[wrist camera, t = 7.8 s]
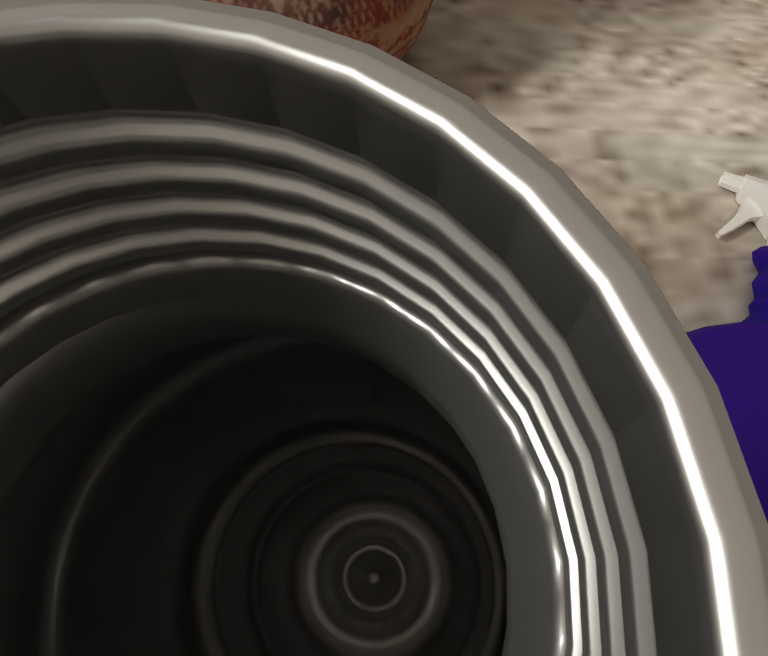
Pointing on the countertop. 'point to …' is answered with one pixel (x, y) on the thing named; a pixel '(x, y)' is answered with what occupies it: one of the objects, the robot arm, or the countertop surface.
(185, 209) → the plastic bottle
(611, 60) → the countertop surface
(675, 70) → the countertop surface
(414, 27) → the jug
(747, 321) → the spray bottle
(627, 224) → the countertop surface
